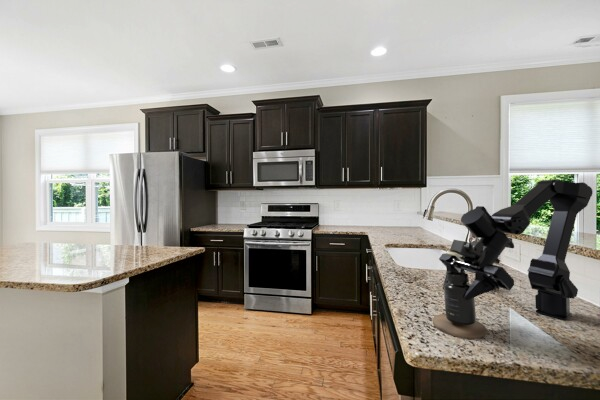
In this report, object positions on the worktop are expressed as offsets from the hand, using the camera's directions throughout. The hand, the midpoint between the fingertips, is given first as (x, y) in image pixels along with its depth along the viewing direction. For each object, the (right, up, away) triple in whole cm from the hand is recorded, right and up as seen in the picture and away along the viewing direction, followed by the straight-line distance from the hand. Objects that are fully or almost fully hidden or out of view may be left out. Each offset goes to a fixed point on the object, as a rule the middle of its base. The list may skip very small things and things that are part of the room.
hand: (454, 294), depth 70 cm
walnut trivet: (+1, -9, 0) cm, 9 cm away
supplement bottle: (+2, -7, 0) cm, 7 cm away
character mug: (+22, -9, +36) cm, 43 cm away
